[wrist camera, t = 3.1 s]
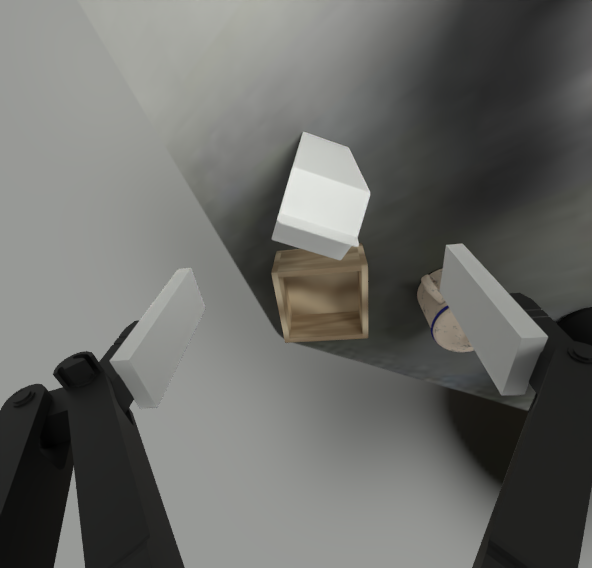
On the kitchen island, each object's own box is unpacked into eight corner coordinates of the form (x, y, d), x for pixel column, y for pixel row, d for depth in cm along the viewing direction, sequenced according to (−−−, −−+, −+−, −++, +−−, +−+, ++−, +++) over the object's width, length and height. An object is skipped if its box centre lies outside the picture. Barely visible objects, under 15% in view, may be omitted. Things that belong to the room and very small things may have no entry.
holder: (276, 250, 46) (271, 272, 41) (361, 243, 45) (367, 264, 40) (288, 316, 53) (285, 342, 48) (362, 311, 52) (368, 338, 46)
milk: (331, 192, 41) (343, 284, 23) (288, 178, 41) (264, 261, 22) (349, 145, 38) (380, 208, 20) (302, 129, 37) (288, 178, 19)
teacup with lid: (488, 288, 48) (531, 341, 38) (437, 321, 52) (465, 376, 42) (441, 241, 44) (476, 286, 34) (390, 280, 48) (409, 330, 38)
